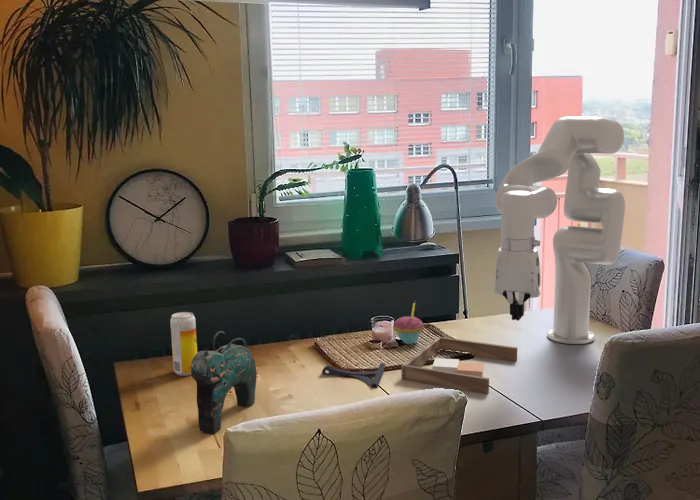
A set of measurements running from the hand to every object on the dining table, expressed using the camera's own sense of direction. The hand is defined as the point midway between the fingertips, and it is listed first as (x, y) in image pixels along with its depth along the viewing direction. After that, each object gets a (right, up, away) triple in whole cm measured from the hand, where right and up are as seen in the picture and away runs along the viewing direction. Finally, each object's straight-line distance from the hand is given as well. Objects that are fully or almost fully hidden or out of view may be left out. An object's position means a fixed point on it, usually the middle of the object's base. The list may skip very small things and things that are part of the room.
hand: (516, 318), depth 180 cm
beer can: (-81, -15, +9) cm, 83 cm away
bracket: (-39, -15, +6) cm, 43 cm away
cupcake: (-24, -9, +31) cm, 40 cm away
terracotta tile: (-11, -15, +3) cm, 19 cm away
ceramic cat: (-67, -20, -18) cm, 72 cm away
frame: (-12, -14, +8) cm, 20 cm away
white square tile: (-16, -14, +6) cm, 22 cm away
